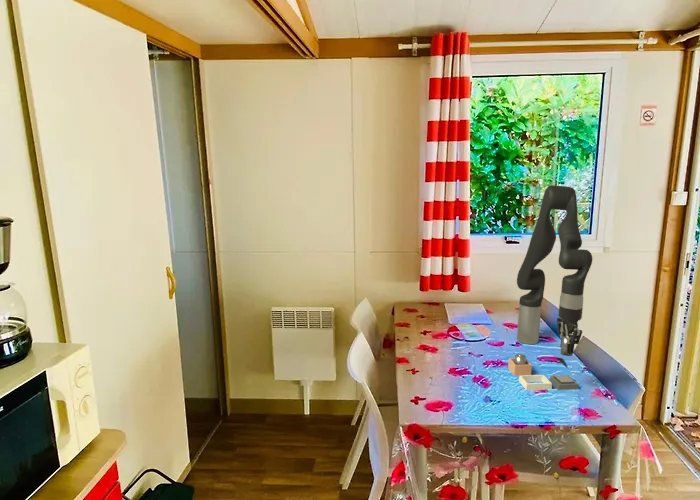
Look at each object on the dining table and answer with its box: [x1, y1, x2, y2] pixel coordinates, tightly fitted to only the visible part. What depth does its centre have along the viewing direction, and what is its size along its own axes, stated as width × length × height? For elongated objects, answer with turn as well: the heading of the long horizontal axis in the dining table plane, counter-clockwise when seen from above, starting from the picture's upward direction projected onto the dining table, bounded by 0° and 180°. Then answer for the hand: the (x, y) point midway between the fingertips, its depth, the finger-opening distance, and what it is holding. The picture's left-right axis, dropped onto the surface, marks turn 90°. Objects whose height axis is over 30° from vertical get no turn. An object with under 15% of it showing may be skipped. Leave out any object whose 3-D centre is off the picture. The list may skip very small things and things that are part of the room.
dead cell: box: [514, 353, 527, 365], centre depth 188 cm, size 4×4×7 cm
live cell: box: [560, 335, 574, 357], centre depth 175 cm, size 4×4×7 cm
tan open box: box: [507, 357, 533, 377], centre depth 189 cm, size 6×6×5 cm
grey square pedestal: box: [548, 374, 580, 391], centre depth 178 cm, size 7×8×3 cm
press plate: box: [554, 375, 575, 384], centre depth 178 cm, size 5×5×1 cm
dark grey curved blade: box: [555, 356, 568, 368], centre depth 195 cm, size 8×1×15 cm
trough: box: [518, 374, 553, 391], centre depth 178 cm, size 7×9×3 cm
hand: (566, 350), depth 176 cm, fingers closed on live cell, 4 cm apart
